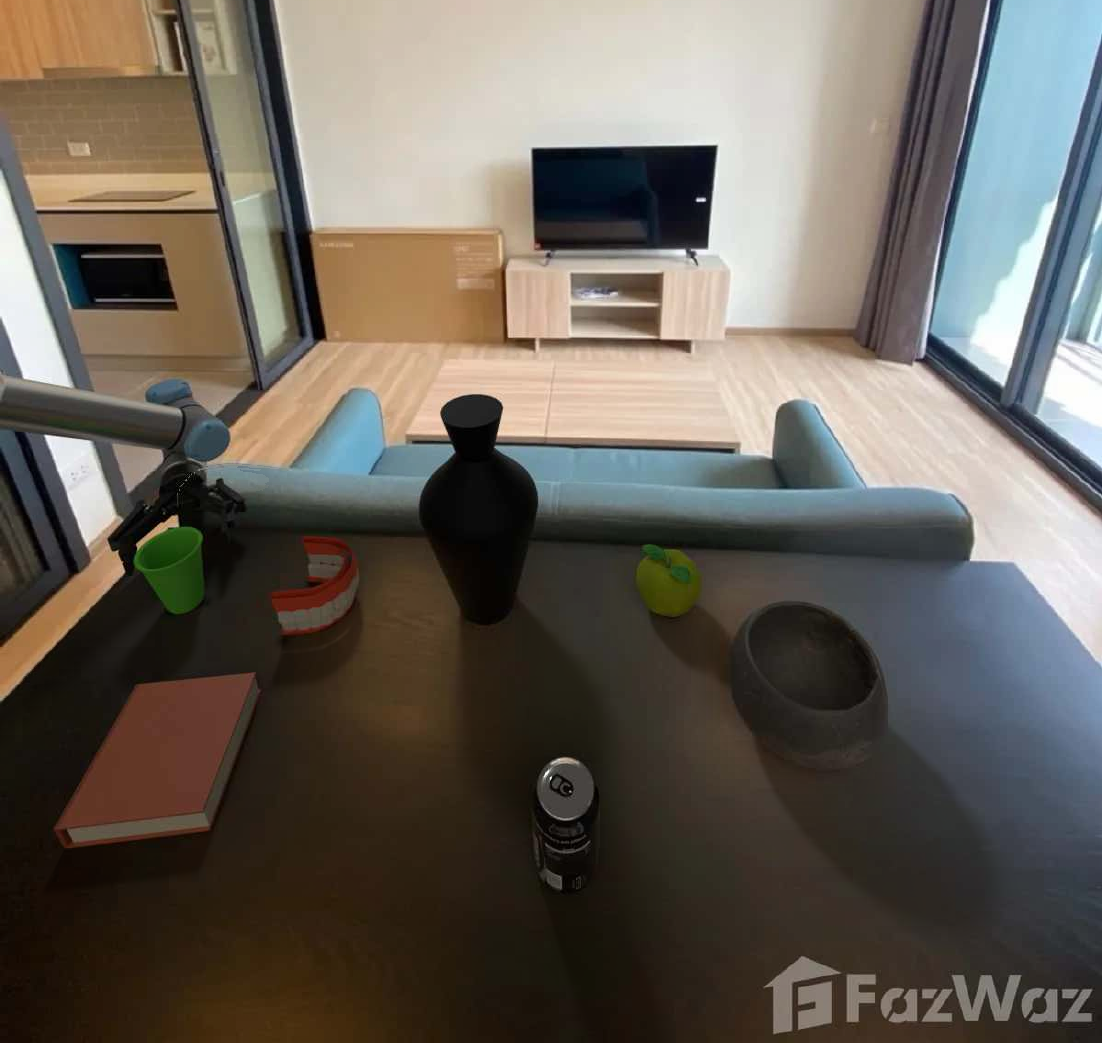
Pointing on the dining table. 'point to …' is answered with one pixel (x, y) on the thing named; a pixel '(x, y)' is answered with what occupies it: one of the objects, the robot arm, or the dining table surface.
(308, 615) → the toy
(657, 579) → the fruit
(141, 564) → the cup
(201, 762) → the book
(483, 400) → the vase
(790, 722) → the bowl
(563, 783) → the beverage can
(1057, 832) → the dining table surface
